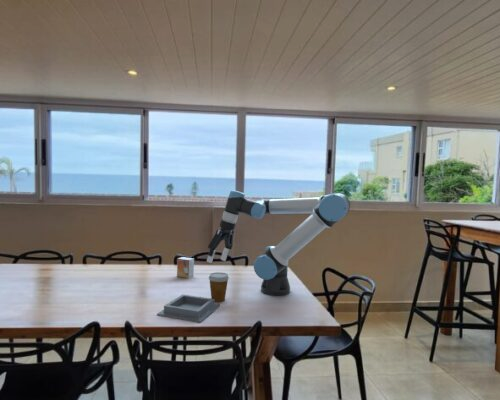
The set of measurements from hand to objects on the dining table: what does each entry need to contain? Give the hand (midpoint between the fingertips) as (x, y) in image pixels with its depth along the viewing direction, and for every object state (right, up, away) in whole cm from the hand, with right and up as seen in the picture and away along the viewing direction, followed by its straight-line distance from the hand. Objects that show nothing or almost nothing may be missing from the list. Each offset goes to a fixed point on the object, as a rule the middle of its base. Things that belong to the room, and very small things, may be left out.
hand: (216, 261), depth 178 cm
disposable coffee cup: (+2, -17, -9) cm, 19 cm away
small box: (-21, -14, +29) cm, 38 cm away
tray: (-9, -17, -23) cm, 31 cm away
